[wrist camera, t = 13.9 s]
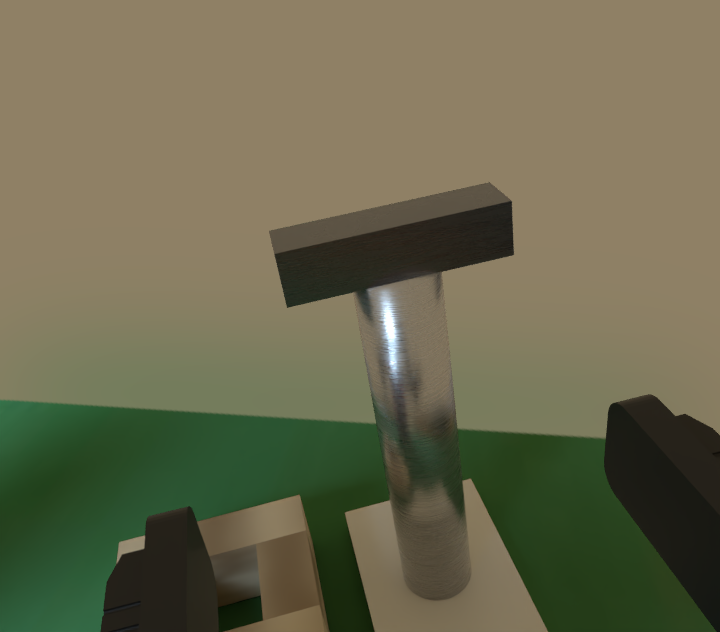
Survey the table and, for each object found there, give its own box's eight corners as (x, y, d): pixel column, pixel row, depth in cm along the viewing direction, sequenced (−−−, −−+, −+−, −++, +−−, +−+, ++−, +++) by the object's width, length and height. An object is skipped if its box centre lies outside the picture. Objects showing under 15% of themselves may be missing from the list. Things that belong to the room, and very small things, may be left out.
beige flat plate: (393, 704, 28) (390, 691, 28) (347, 525, 37) (344, 512, 36) (553, 656, 29) (553, 642, 28) (472, 492, 37) (470, 478, 37)
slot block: (125, 771, 27) (95, 723, 26) (141, 588, 35) (119, 542, 33) (343, 707, 28) (328, 656, 27) (312, 542, 36) (299, 494, 34)
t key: (361, 623, 30) (276, 261, 21) (348, 566, 33) (267, 224, 24) (531, 575, 31) (518, 206, 22) (504, 523, 34) (483, 177, 25)
